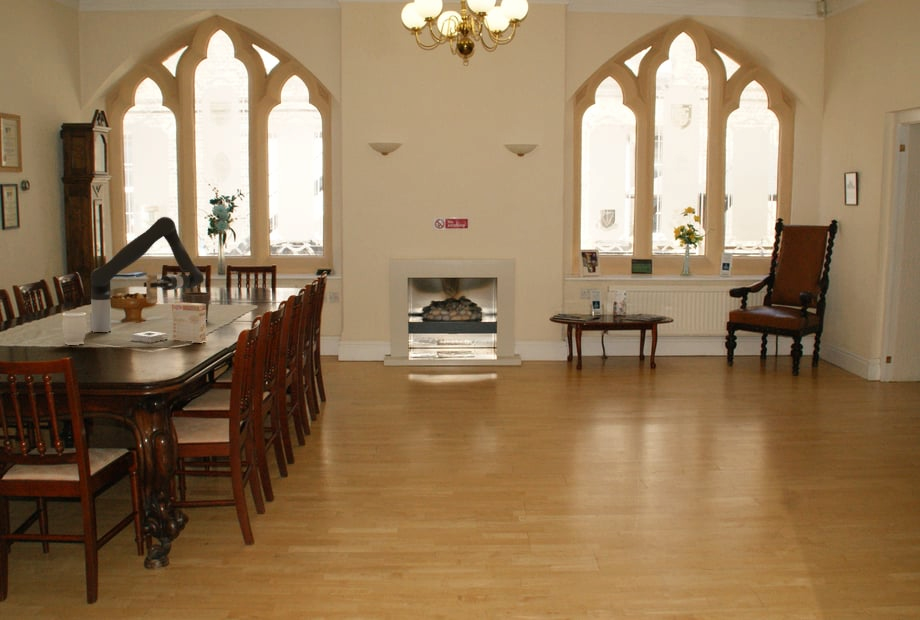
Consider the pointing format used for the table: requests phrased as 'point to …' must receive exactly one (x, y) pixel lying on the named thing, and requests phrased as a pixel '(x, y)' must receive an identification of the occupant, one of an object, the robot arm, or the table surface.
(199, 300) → the plant pot
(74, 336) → the jar
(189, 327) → the coffeecake box
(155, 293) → the peg
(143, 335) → the socket block
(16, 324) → the table surface
